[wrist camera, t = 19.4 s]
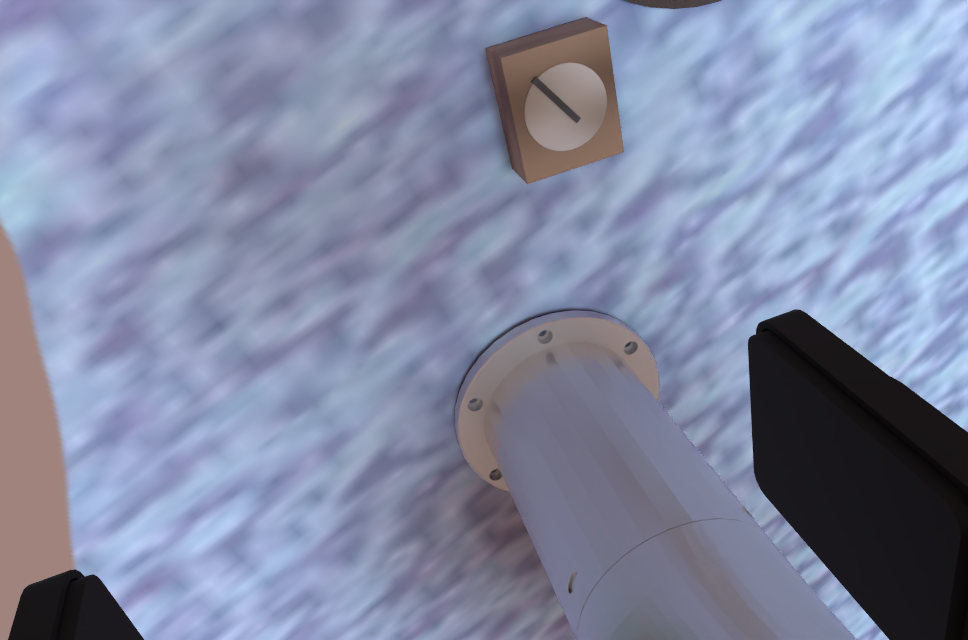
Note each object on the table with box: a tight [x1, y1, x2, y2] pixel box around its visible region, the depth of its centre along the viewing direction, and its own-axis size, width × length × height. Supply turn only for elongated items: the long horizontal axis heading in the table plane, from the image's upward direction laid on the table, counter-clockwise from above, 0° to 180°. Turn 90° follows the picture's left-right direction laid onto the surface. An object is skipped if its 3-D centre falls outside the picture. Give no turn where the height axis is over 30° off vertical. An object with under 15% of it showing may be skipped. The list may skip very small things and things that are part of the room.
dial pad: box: [486, 17, 624, 184], centre depth 37 cm, size 6×5×3 cm
